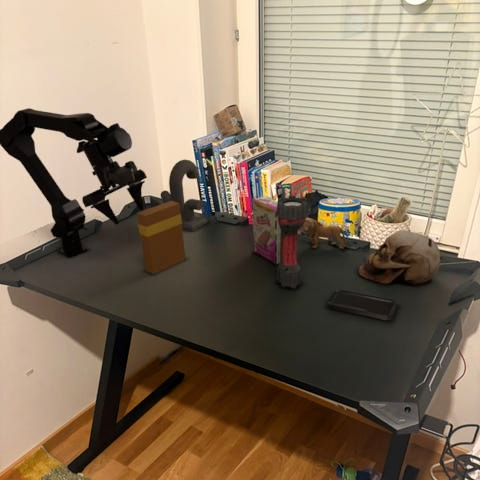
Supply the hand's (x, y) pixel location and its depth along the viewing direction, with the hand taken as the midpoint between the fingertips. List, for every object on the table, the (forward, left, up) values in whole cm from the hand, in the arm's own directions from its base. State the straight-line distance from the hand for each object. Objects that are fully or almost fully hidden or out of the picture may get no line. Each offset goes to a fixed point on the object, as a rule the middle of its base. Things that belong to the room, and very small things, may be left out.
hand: (130, 217), depth 134 cm
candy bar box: (+28, +27, -14) cm, 41 cm away
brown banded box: (+8, +4, -14) cm, 16 cm away
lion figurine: (+36, +42, -14) cm, 57 cm away
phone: (+63, +19, -14) cm, 67 cm away
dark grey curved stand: (-14, +32, -14) cm, 38 cm away
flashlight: (+43, +17, -14) cm, 48 cm away
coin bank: (+62, +38, -14) cm, 74 cm away
